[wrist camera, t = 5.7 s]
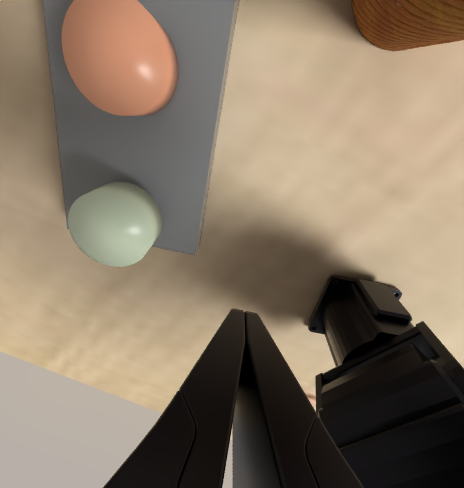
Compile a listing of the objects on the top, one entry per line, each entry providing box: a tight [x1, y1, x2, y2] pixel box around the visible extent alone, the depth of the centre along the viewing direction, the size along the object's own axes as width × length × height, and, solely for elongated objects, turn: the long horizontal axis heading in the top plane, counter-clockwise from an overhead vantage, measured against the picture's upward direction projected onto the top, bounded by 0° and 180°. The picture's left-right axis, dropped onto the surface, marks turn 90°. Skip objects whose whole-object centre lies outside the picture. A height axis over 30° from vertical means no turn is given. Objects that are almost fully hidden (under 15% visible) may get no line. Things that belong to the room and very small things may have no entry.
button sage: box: [68, 181, 162, 267], centre depth 16 cm, size 5×5×2 cm
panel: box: [43, 0, 239, 255], centre depth 15 cm, size 23×10×2 cm, turn 169°
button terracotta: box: [62, 0, 179, 116], centre depth 13 cm, size 5×5×2 cm
